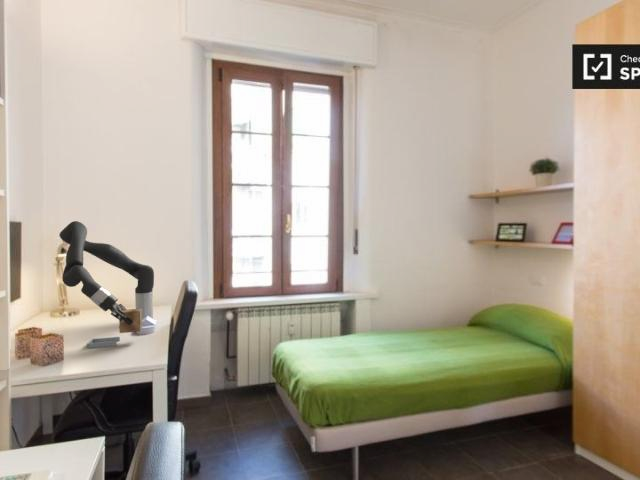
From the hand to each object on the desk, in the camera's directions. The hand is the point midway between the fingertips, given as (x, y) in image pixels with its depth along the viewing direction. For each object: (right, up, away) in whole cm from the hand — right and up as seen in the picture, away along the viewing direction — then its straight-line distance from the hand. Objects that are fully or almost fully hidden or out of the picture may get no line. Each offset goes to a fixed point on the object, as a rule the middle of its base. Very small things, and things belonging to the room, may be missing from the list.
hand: (132, 322), depth 182 cm
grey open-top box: (-12, -10, -4) cm, 16 cm away
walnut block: (-1, -4, 0) cm, 4 cm away
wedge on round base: (-2, -9, +19) cm, 21 cm away
